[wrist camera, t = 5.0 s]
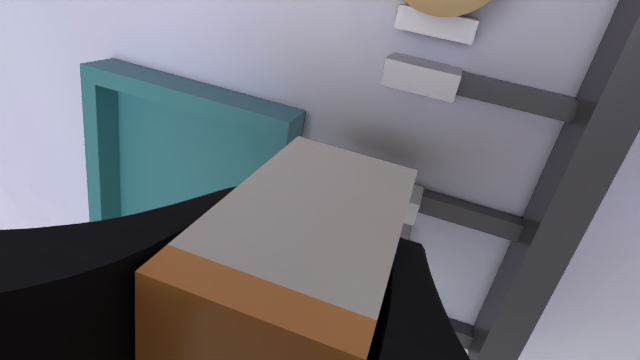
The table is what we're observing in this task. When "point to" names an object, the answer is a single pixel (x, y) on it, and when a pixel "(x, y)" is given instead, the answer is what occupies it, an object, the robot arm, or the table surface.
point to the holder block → (557, 177)
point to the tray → (171, 137)
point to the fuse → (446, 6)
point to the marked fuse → (279, 263)
